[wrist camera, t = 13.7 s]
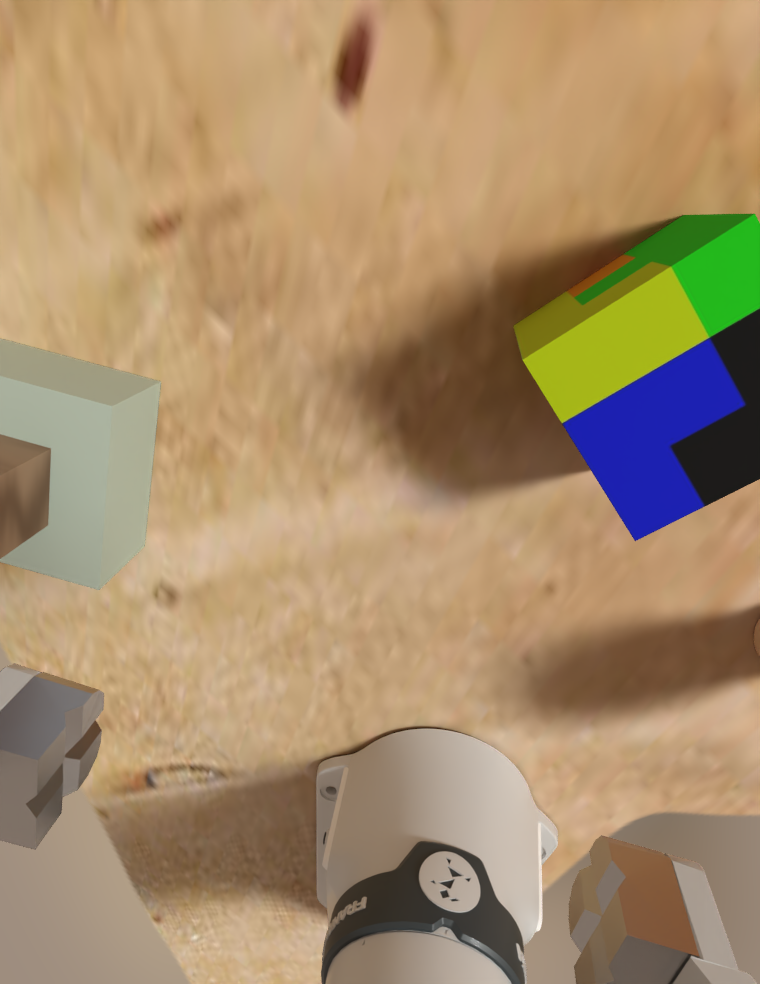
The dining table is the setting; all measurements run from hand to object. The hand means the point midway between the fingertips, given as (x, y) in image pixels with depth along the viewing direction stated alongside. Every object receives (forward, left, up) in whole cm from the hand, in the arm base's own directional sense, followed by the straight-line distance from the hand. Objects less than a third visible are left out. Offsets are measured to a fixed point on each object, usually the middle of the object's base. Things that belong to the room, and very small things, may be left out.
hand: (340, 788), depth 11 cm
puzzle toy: (+4, -10, -31) cm, 33 cm away
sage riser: (-11, +23, -31) cm, 40 cm away
